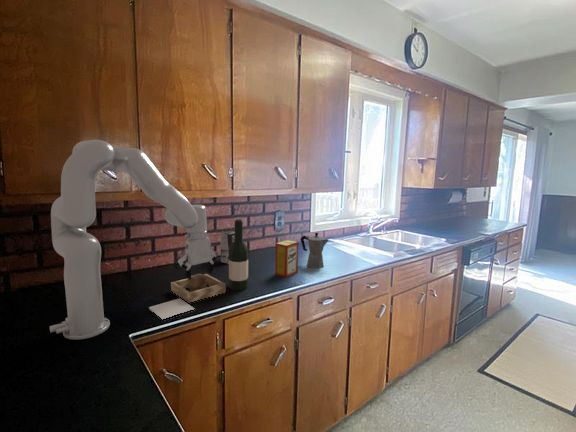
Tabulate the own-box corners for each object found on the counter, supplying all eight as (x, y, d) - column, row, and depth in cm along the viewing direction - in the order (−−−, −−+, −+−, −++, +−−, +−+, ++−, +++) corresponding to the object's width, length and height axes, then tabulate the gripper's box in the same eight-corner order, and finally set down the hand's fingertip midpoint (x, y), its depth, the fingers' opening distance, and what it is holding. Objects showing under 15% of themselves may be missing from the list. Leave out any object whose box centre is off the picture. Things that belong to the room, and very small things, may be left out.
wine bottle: (229, 291, 135) (229, 221, 130) (228, 284, 143) (227, 217, 138) (249, 289, 137) (249, 220, 132) (246, 282, 145) (247, 217, 140)
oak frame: (188, 303, 122) (188, 294, 121) (171, 291, 133) (170, 282, 132) (225, 292, 133) (225, 283, 132) (206, 282, 144) (206, 273, 143)
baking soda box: (285, 277, 153) (286, 244, 150) (275, 274, 156) (275, 242, 154) (297, 272, 160) (298, 241, 157) (287, 269, 164) (287, 239, 161)
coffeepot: (329, 264, 173) (331, 232, 170) (324, 270, 165) (326, 235, 162) (302, 260, 179) (304, 229, 176) (296, 265, 171) (297, 232, 168)
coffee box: (229, 264, 170) (229, 234, 167) (220, 262, 173) (220, 233, 171) (240, 260, 178) (240, 231, 175) (231, 258, 181) (231, 230, 178)
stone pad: (162, 320, 109) (162, 319, 108) (148, 308, 117) (148, 307, 117) (194, 310, 117) (194, 308, 117) (180, 299, 125) (179, 298, 125)
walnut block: (195, 295, 129) (195, 279, 128) (189, 292, 133) (189, 276, 132) (206, 292, 133) (206, 276, 132) (200, 289, 136) (200, 273, 135)
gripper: (181, 240, 121) (183, 283, 124) (221, 233, 132) (222, 272, 135) (172, 237, 126) (175, 278, 129) (211, 230, 138) (212, 268, 141)
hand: (199, 275), depth 132 cm, fingers open, 9 cm apart
